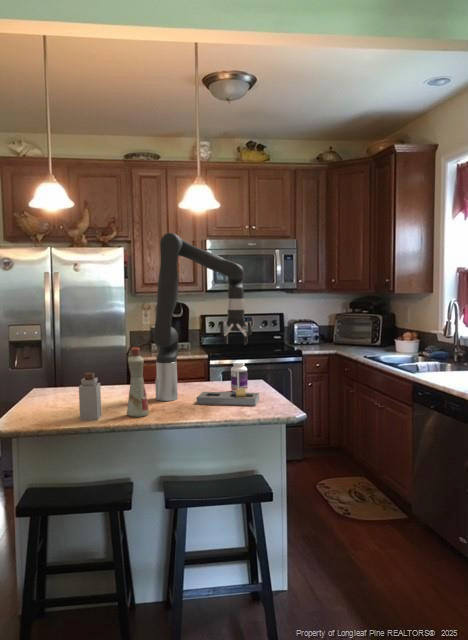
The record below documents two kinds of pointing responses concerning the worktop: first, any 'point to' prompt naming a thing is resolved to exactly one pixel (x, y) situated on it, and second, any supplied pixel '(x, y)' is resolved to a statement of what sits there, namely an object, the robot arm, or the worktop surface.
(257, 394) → the silver slotted board
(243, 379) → the pill bottle
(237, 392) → the block
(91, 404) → the perfume bottle
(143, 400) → the bottle
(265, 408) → the worktop surface
